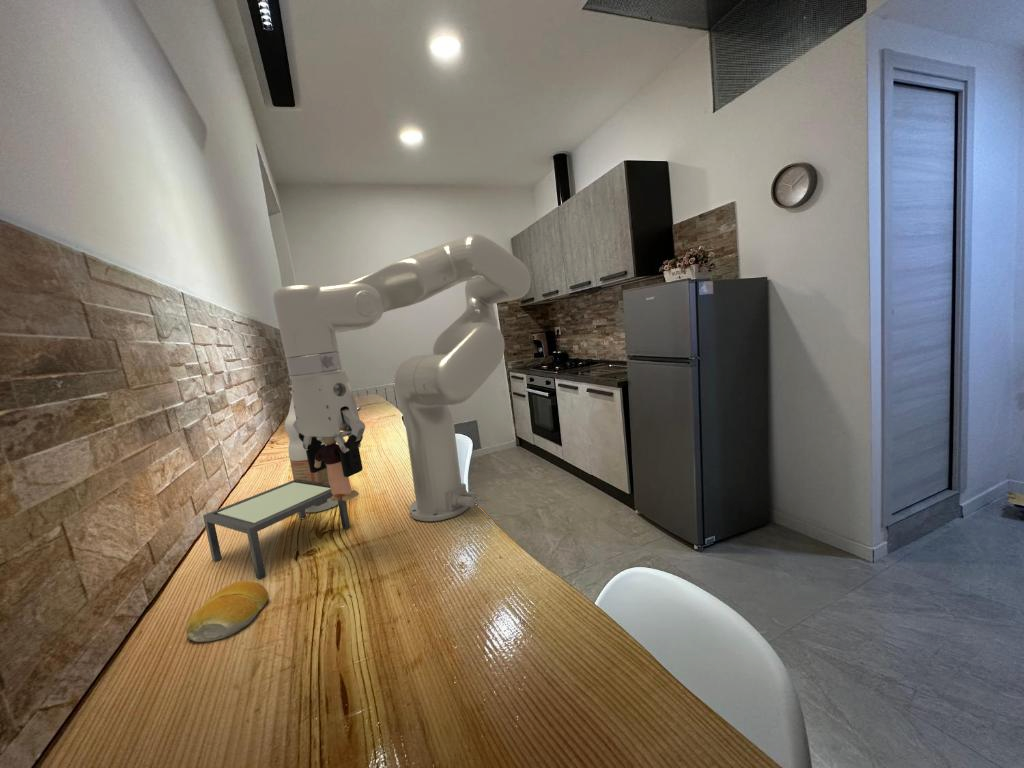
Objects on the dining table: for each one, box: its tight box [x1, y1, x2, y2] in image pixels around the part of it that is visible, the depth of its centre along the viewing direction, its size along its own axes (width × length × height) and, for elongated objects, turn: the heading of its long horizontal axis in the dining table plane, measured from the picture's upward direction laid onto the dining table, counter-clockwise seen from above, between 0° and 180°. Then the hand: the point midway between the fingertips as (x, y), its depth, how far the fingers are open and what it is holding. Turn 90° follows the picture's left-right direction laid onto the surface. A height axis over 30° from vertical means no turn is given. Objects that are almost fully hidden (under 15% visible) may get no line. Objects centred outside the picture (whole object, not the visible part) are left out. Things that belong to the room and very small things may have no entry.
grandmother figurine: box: [314, 437, 360, 502], centre depth 63 cm, size 8×4×13 cm, turn 84°
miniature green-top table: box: [202, 479, 351, 580], centre depth 71 cm, size 15×17×8 cm
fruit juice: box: [284, 384, 339, 514], centre depth 87 cm, size 9×9×28 cm
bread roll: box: [185, 580, 269, 643], centre depth 52 cm, size 8×9×4 cm
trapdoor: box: [217, 482, 331, 525], centre depth 71 cm, size 12×14×3 cm
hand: (336, 471), depth 64 cm, fingers closed on grandmother figurine, 7 cm apart
